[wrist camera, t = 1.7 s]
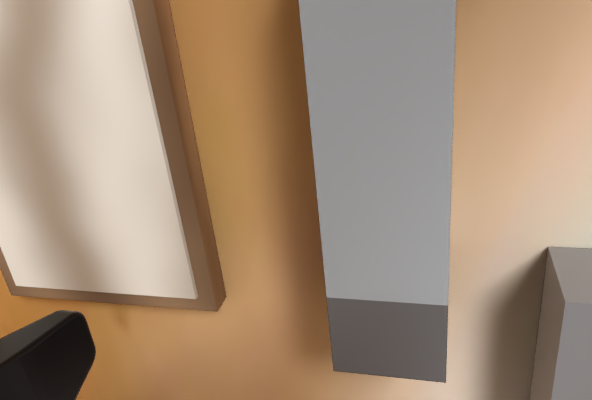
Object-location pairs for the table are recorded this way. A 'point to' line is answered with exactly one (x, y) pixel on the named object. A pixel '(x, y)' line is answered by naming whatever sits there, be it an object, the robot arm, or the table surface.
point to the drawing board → (101, 158)
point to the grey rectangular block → (383, 177)
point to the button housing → (565, 328)
